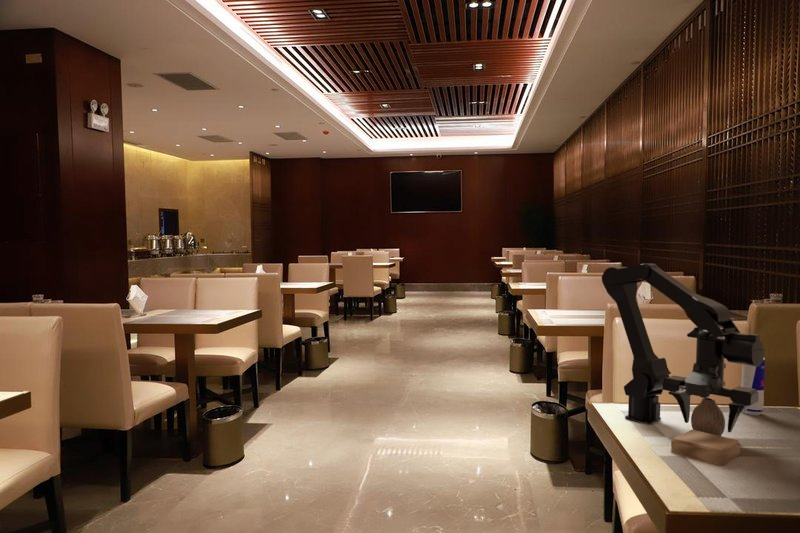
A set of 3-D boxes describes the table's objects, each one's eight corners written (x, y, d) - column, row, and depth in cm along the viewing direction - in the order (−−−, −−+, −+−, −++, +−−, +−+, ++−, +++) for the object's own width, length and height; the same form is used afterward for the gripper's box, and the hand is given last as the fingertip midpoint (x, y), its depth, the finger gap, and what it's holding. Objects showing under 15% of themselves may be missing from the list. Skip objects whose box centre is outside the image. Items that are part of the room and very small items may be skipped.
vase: (684, 432, 139) (685, 395, 138) (712, 432, 139) (713, 395, 139) (701, 442, 132) (703, 403, 131) (731, 441, 132) (732, 402, 132)
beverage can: (766, 416, 153) (768, 358, 152) (744, 415, 154) (746, 357, 153) (758, 411, 158) (760, 355, 157) (737, 410, 159) (739, 354, 158)
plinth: (671, 452, 125) (671, 438, 125) (690, 442, 131) (690, 428, 131) (722, 465, 117) (722, 450, 117) (740, 454, 124) (740, 440, 124)
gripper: (653, 357, 136) (651, 424, 137) (743, 370, 122) (740, 445, 123) (673, 351, 144) (671, 415, 144) (760, 363, 130) (758, 434, 131)
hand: (707, 427), depth 135 cm, fingers open, 9 cm apart
